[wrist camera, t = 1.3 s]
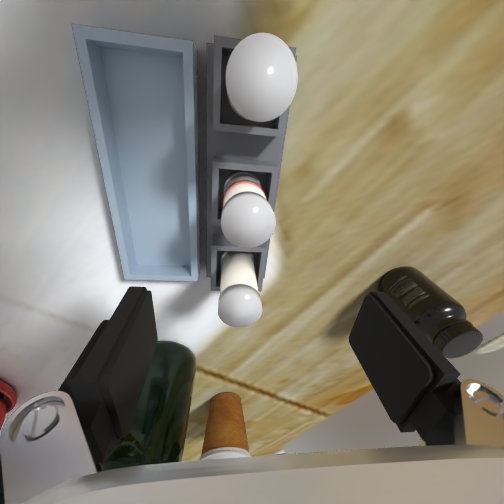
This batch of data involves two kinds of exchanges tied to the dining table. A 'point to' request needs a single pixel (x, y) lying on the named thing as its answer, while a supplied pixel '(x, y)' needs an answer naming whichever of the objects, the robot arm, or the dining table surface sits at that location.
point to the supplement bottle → (432, 311)
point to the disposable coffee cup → (225, 429)
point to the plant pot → (6, 400)
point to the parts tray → (146, 146)
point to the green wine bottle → (159, 411)
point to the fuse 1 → (238, 290)
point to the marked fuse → (246, 211)
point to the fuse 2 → (261, 77)
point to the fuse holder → (236, 157)
